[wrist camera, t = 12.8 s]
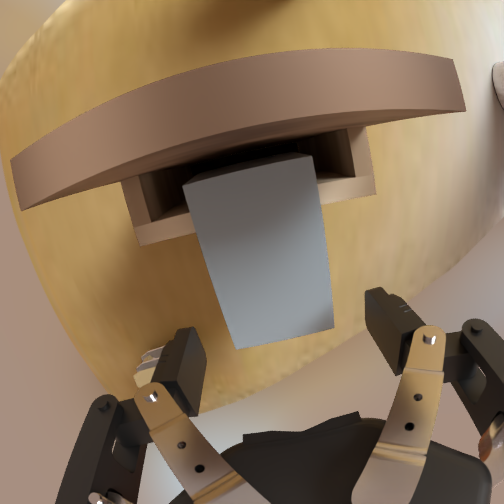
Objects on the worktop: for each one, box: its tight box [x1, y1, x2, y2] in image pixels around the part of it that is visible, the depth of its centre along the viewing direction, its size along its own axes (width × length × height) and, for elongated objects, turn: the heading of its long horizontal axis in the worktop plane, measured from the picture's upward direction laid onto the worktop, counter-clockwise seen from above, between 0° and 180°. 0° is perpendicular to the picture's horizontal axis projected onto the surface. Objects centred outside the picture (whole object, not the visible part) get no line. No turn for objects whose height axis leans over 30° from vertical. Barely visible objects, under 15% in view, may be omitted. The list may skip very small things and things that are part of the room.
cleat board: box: [10, 48, 466, 246], centre depth 15 cm, size 12×5×20 cm, turn 103°
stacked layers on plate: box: [133, 346, 164, 388], centre depth 29 cm, size 10×9×6 cm
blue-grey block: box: [182, 152, 334, 350], centre depth 17 cm, size 6×10×10 cm, turn 13°
